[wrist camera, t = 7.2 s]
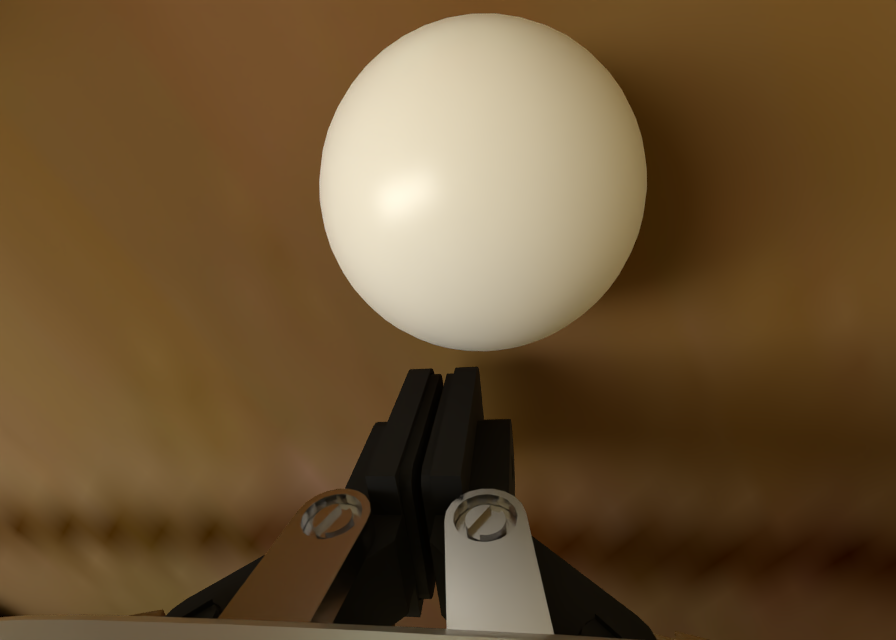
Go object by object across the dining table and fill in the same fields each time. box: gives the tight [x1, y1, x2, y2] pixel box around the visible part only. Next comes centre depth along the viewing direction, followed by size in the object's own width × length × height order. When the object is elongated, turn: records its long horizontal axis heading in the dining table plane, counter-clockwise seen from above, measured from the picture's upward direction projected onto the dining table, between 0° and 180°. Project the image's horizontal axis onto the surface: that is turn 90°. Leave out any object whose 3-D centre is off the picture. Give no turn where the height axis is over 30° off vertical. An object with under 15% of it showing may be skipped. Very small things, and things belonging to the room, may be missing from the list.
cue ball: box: [319, 13, 647, 351], centre depth 9 cm, size 6×6×6 cm
